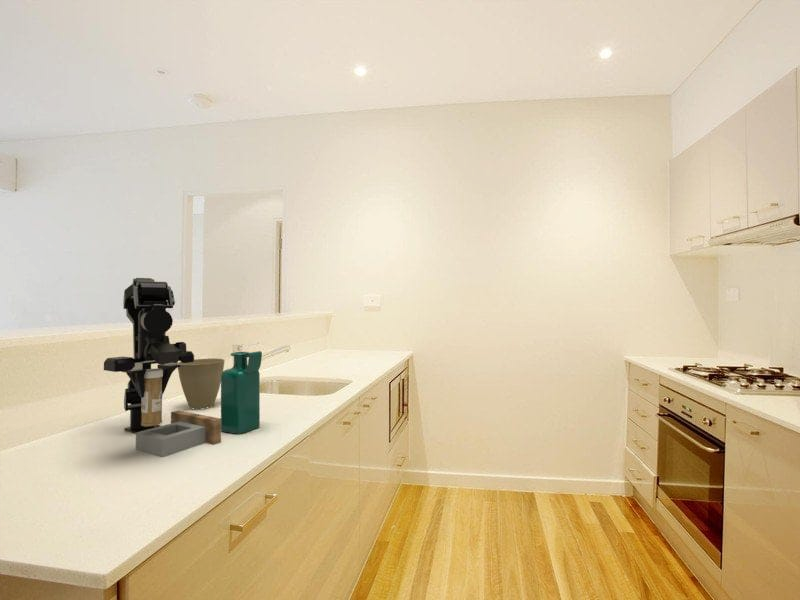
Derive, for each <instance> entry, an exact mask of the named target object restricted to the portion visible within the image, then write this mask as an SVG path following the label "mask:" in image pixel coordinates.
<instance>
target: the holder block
mask: <svg viewBox="0 0 800 600" xmlns="http://www.w3.org/2000/svg"><path fill="white" fill-rule="evenodd" d="M205 443H206V427H204V426H199V425H194V424H190V423H185V422H180V421H178V422H175V423H171V422H170V423H168V424H165V425H160V426H159V427H156V428H152V429H148V430H144V431H141V432H137V433H135V450H136V451H141V452H143V453H148V454H150V455H154V456H158V457H162V458H163V457H166V456H167V457H168V456H170V455H172V454H176V453H179V452H182V451H184V450H188V449H190V448H193V447H197V446H200V445H203V444H205Z"/></svg>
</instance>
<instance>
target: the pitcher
mask: <svg viewBox="0 0 800 600" xmlns="http://www.w3.org/2000/svg"><path fill="white" fill-rule="evenodd" d="M230 356H232V357H233V366H232V367H230V368H227V369H225V370H223V372H222V374H221V384H220V419H221V432H224V433H227V434H229V433H230V434H235V435H241V434H245V433H248V432H251V431H253V430H255V429H257V428H260V416H261V414H260V413H261V411H260V409H261V407H260V406H261V405H260V395H261V394H260V393H261V392H260V387H261V386H260V382H261V381H260V380H261V378H260V371H259V370H260V368H261V365H262V358H263V357H262V356H263V352H262V351H260V350H259V351H252V352H249V351H235V352H231V353H230Z"/></svg>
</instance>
